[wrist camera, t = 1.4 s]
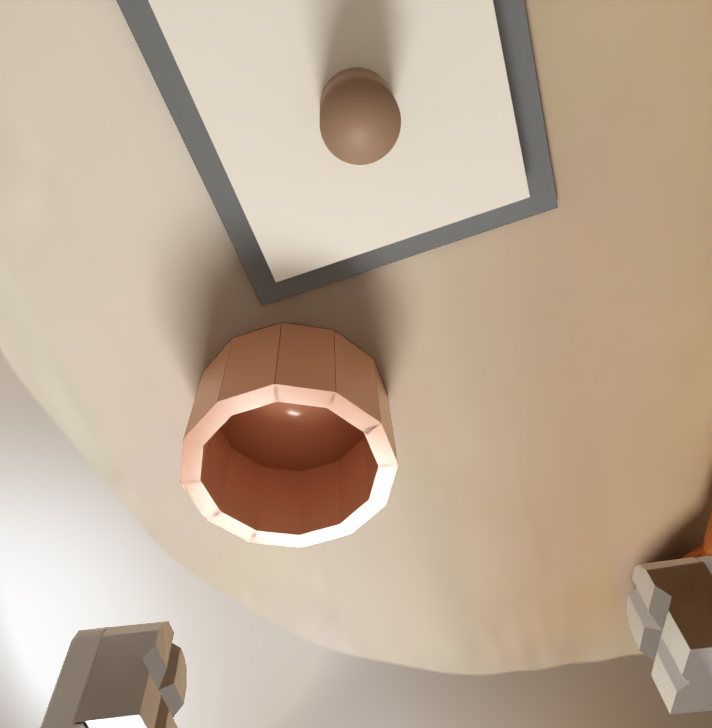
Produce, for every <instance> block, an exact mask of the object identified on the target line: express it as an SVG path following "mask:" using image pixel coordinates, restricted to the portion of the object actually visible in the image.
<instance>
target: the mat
mask: <svg viewBox="0 0 712 728" xmlns="http://www.w3.org/2000/svg"><path fill="white" fill-rule="evenodd" d="M117 2H118V4H119V7H120V9H121V11H122V13H123V15H124V17H125V19H126V21H127V23H128V25H129V28H130V30H131V32H132V34H133V36H134V38H135V40H136V42H137V44H138V46H139V48H140V51H141V53H142V55H143V57H144V59H145V61H146V63H147V65H148V67H149V69H150V72H151V74H152V76H153V78H154V80H155V82H156V84H157V86H158V88H159V90H160V92H161V95H162V97H163V99H164V101H165V103H166V105H167V107H168V109H169V111H170V113H171V116H172V118H173V120H174V122H175V124H176V126H177V128H178V130H179V132H180V134H181V136H182V139H183V141H184V143H185V145H186V147H187V149H188V151H189V153H190V155H191V157H192V160H193V162H194V164H195V166H196V168H197V170H198V172H199V174H200V176H201V178H202V180H203V183H204V185H205V187H206V189H207V191H208V193H209V195H210V197H211V199H212V201H213V204H214V206H215V208H216V210H217V212H218V214H219V216H220V218H221V220H222V222H223V224H224V227H225V229H226V231H227V233H228V235H229V237H230V239H231V241H232V243H233V245H234V248H235V250H236V252H237V254H238V256H239V258H240V260H241V262H242V264H243V266H244V268H245V271H246V273H247V275H248V277H249V279H250V281H251V283H252V285H253V287H254V289H255V292H256V294H257V296H258V298H259V300H260V302H261V304H262V305H265V304H268V303H271V302H274V301H277V300H281V299H284V298H287V297H290V296H293V295H296V294H299V293H302V292H305V291H308V290H311V289H314V288H317V287H320V286H323V285H326V284H329V283H332V282H335V281H338V280H341V279H344V278H347V277H350V276H353V275H356V274H359V273H362V272H365V271H368V270H371V269H374V268H377V267H380V266H383V265H386V264H389V263H392V262H395V261H398V260H401V259H404V258H407V257H410V256H413V255H416V254H419V253H422V252H425V251H428V250H431V249H434V248H437V247H440V246H443V245H447V244H450V243H453V242H456V241H459V240H462V239H465V238H468V237H471V236H474V235H477V234H480V233H483V232H486V231H489V230H492V229H495V228H498V227H501V226H504V225H507V224H510V223H513V222H516V221H519V220H522V219H525V218H528V217H531V216H534V215H537V214H540V213H543V212H546V211H549V210H552V209H555V208H558V205H557V199H556V193H555V187H554V180H553V174H552V168H551V162H550V156H549V150H548V144H547V138H546V132H545V126H544V120H543V114H542V108H541V101H540V95H539V89H538V83H537V77H536V71H535V65H534V59H533V53H532V47H531V41H530V35H529V29H528V22H527V16H526V10H525V4H524V0H493V4H494V9H495V14H496V20H497V25H498V30H499V36H500V41H501V46H502V52H503V57H504V62H505V68H506V73H507V78H508V83H509V89H510V94H511V99H512V105H513V110H514V115H515V121H516V126H517V131H518V137H519V142H520V147H521V152H522V158H523V163H524V168H525V174H526V179H527V184H528V190H529V195H530V197H529V198H526V199H523V200H520V201H517V202H514V203H511V204H508V205H505V206H502V207H499V208H496V209H493V210H490V211H487V212H484V213H481V214H478V215H475V216H472V217H469V218H466V219H463V220H461V221H458V222H455V223H452V224H449V225H446V226H443V227H440V228H437V229H434V230H431V231H428V232H425V233H422V234H419V235H416V236H413V237H410V238H407V239H404V240H401V241H398V242H395V243H392V244H389V245H386V246H383V247H380V248H377V249H374V250H371V251H368V252H365V253H362V254H359V255H356V256H353V257H350V258H347V259H344V260H341V261H338V262H335V263H332V264H329V265H326V266H324V267H321V268H318V269H315V270H312V271H309V272H306V273H303V274H300V275H297V276H294V277H291V278H288V279H285V280H282V281H279V282H275V279H274V277H273V275H272V273H271V271H270V268H269V266H268V264H267V262H266V259H265V257H264V255H263V253H262V251H261V248H260V246H259V244H258V242H257V240H256V237H255V235H254V233H253V231H252V229H251V226H250V224H249V222H248V220H247V218H246V215H245V213H244V211H243V209H242V207H241V204H240V202H239V200H238V198H237V195H236V193H235V191H234V189H233V187H232V184H231V182H230V180H229V178H228V176H227V173H226V171H225V169H224V167H223V165H222V162H221V160H220V158H219V156H218V154H217V151H216V149H215V147H214V145H213V142H212V140H211V138H210V136H209V134H208V131H207V129H206V127H205V125H204V123H203V120H202V118H201V116H200V114H199V112H198V109H197V107H196V105H195V103H194V101H193V98H192V96H191V94H190V92H189V90H188V87H187V85H186V83H185V81H184V78H183V76H182V74H181V72H180V70H179V67H178V65H177V63H176V61H175V59H174V56H173V54H172V52H171V50H170V48H169V45H168V43H167V41H166V39H165V37H164V34H163V32H162V30H161V28H160V26H159V23H158V21H157V19H156V17H155V14H154V12H153V10H152V8H151V6H150V3H149V1H148V0H117Z"/></svg>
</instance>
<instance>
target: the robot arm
mask: <svg viewBox="0 0 712 728" xmlns="http://www.w3.org/2000/svg"><path fill="white" fill-rule="evenodd" d="M632 580H633V582H634V584H635V586H636V588H635V589H634V590H633V591H632V592H631V593H630V594H629V595H628V600H627V606H626V609H627V616H628V623H629V626H630V629H631V632H632V635H633V638H634V640H635V642H636V644H637V646H638V649H639V650H640V651H641V652H642V653H644V654H645V655H646V656H648V657H649V658H650V659H652V660H653V661H654V665H653V669H652V674H651V676H652V678H653V680H654V682H655V684H656V686H657V688H658V690H659V692H660V694H661V696H662V698H663V700H664V703H665V705H666V707H667V709H668V711H669V713H670V714H677V713H688V712H699V711H710V710H712V556H705V557H698V558H694V557H689V558H682V559H675V560H667V561H660V562H653V563H645V564H638V565H637V566H636V567H635V568H634V570H633V575H632ZM173 635H174V632H173V630H172V628H171V626H170V624H169V622H157V623H147V624H137V625H128V626H119V627H106V628H97V629H90V630H81V631H78V633H77V634H76V636H75V637H74V638H73V640H72V641H71V644H70V647H69V650H68V652H67V655H66V658H65V661H64V664H63V666H62V669H61V672H60V674H59V677H58V680H57V683H56V686H55V688H54V691H53V694H52V697H51V700H50V702H49V705H48V708H47V711H46V714H45V716H44V719H43V722H42V725H41V727H40V728H177V726H176V724H175V721H174V719H173V717H174V715H175V714H176V713H177V712H178V710H179V709H180V707H181V706H182V705H183V704H184V698H185V692H186V664H185V658H184V655H183V652H182V650H181V648H180V647H178V646H176V645H174V644H173V643H172V640H173Z"/></svg>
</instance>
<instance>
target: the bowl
mask: <svg viewBox="0 0 712 728" xmlns="http://www.w3.org/2000/svg"><path fill="white" fill-rule="evenodd" d="M397 467H398V460H397V453H396V447H395V440H394V434H393V427H392V420H391V414H390V407H389V401H388V396H387V393H386V391H385V388H384V386H383V383H382V380H381V378H380V375H379V373H378V370H377V367H376V365H375V362H374V360H373V358H372V357H370V356H369V355H367V354H366V353H365V352H363V351H362V350H361V349H359V348H358V347H356V346H355V345H354V344H352V343H351V342H350V341H348V340H347V339H345V338H344V337H343V336H341V335H340V334H339V333H337V332H336V331H334V330H329V329H323V328H316V327H309V326H303V325H296V324H289V323H283V322H282V323H278V324H275V325H272V326H269V327H266V328H263V329H260V330H257V331H253V332H250V333H247V334H244V335H241V336H238V337H235V338H233V339H232V340H231V341H230V342H229V343H228V344H227V345H226V346H225V348H224V349H223V350H222V351H221V352H220V353H219V354H218V355H217V357H216V358H215V359H214V360H213V361H212V362H211V363H210V365H209V366H208V367H207V368H206V369H205V370H204V371H203V374H202V377H201V380H200V384H199V387H198V391H197V394H196V397H195V401H194V404H193V408H192V411H191V415H190V418H189V421H188V425H187V428H186V432H185V435H184V439H183V452H182V467H181V484H182V485H183V487H184V488H185V490H186V491H187V493H188V494H189V495H190V497H191V498H192V500H193V501H194V503H195V504H196V506H197V507H198V509H199V510H200V512H201V513H202V515H203V516H204V518H205V519H206V520H208V521H210V522H212V523H214V524H216V525H217V526H219V527H221V528H223V529H225V530H227V531H229V532H231V533H233V534H235V535H237V536H239V537H240V538H242V539H244V540H246V541H248V542H250V543H261V544H271V545H281V546H291V547H306V546H309V545H313V544H317V543H320V542H324V541H328V540H331V539H335V538H339V537H343V536H346V535H350V534H352V533H353V532H354V531H355V530H356V529H358V528H359V527H360V526H361V525H362V524H364V523H365V522H366V521H367V520H368V519H370V518H371V517H372V516H373V515H374V514H376V513H377V512H378V511H379V510H380V509H382V508H383V507H384V506H385V505H386V503H387V500H388V496H389V493H390V490H391V487H392V483H393V480H394V477H395V474H396V471H397Z"/></svg>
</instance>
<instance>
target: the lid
mask: <svg viewBox="0 0 712 728" xmlns="http://www.w3.org/2000/svg"><path fill="white" fill-rule="evenodd" d="M148 1H149V3H150V6H151V8H152V10H153V12H154V14H155V17H156V19H157V21H158V23H159V26H160V28H161V30H162V32H163V34H164V37H165V39H166V41H167V43H168V45H169V48H170V50H171V52H172V54H173V56H174V59H175V61H176V63H177V65H178V67H179V70H180V72H181V74H182V76H183V78H184V81H185V83H186V85H187V87H188V90H189V92H190V94H191V96H192V98H193V101H194V103H195V105H196V107H197V109H198V112H199V114H200V116H201V118H202V120H203V123H204V125H205V127H206V129H207V131H208V134H209V136H210V138H211V140H212V142H213V145H214V147H215V149H216V151H217V154H218V156H219V158H220V160H221V162H222V165H223V167H224V169H225V171H226V173H227V176H228V178H229V180H230V182H231V184H232V187H233V189H234V191H235V193H236V195H237V198H238V200H239V202H240V204H241V207H242V209H243V211H244V213H245V215H246V218H247V220H248V222H249V224H250V226H251V229H252V231H253V233H254V235H255V237H256V240H257V242H258V244H259V246H260V248H261V251H262V253H263V255H264V257H265V259H266V262H267V264H268V266H269V268H270V271H271V273H272V275H273V277H274V279H275V282H279V281H282V280H285V279H288V278H291V277H294V276H297V275H300V274H303V273H306V272H309V271H312V270H315V269H318V268H321V267H324V266H326V265H329V264H332V263H335V262H338V261H341V260H344V259H347V258H350V257H353V256H356V255H359V254H362V253H365V252H368V251H371V250H374V249H377V248H380V247H383V246H386V245H389V244H392V243H395V242H398V241H401V240H404V239H407V238H410V237H413V236H416V235H419V234H422V233H425V232H428V231H431V230H434V229H437V228H440V227H443V226H446V225H449V224H452V223H455V222H458V221H461V220H463V219H466V218H469V217H472V216H475V215H478V214H481V213H484V212H487V211H490V210H493V209H496V208H499V207H502V206H505V205H508V204H511V203H514V202H517V201H520V200H523V199H526V198H529V197H530V195H529V190H528V184H527V179H526V174H525V168H524V163H523V158H522V152H521V147H520V142H519V137H518V131H517V126H516V121H515V115H514V110H513V105H512V99H511V94H510V89H509V83H508V78H507V73H506V68H505V62H504V57H503V52H502V46H501V41H500V36H499V30H498V25H497V20H496V14H495V9H494V4H493V0H148Z"/></svg>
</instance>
